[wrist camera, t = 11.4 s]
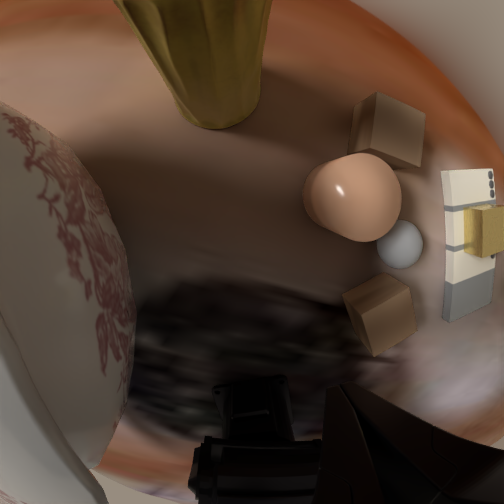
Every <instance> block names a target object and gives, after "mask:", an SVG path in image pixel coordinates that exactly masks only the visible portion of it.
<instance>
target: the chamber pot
mask: <svg viewBox="0 0 504 504" xmlns="http://www.w3.org/2000/svg"><path fill="white" fill-rule="evenodd" d="M136 320H137V310H136V305H135V301H134V296H133V291H132V285H131V280H130V274H129V268H128V262H127V256H126V250H125V248H124V245H123V243H122V241H121V239H120V236H119V234H118V231H117V229H116V227H115V224H114V222H113V219H112V217H111V214H110V212H109V209H108V206H107V204H106V201H105V199H104V196H103V193H102V190H101V189H100V187H99V186H98V185H97V183H96V182H95V181H94V179H93V178H92V177H91V175H90V174H89V173H88V171H87V170H86V168H85V167H84V166H83V164H82V163H81V161H80V160H79V159H78V157H77V156H76V154H75V153H74V152H73V150H72V149H71V147H70V146H69V145H68V144H66V143H65V142H63V141H62V140H61V139H59V138H58V137H56V136H55V135H54V134H52V133H51V132H49V131H48V130H46V129H45V128H44V127H42V126H41V125H39V124H38V123H36V122H35V121H33V120H31V119H30V118H28V117H27V116H25V115H23V114H22V113H20V112H18V111H17V110H15V109H13V108H12V107H10V106H9V105H7V104H5V103H4V102H0V504H109V503H108V501H107V498H106V495H105V493H104V490H103V488H102V487H101V485H100V484H99V483H98V481H97V480H96V478H95V477H94V476H93V474H92V473H91V472H90V471H89V469H91V468H93V467H95V466H97V465H98V464H99V462H100V460H101V459H102V457H103V455H104V453H105V451H106V449H107V447H108V445H109V443H110V441H111V439H112V437H113V435H114V432H115V430H116V428H117V425H118V423H119V421H120V419H121V416H122V414H123V412H124V410H125V407H126V405H127V399H128V392H129V386H130V380H131V374H132V368H133V363H134V346H135V332H136Z"/></svg>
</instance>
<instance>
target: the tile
mask: <svg viewBox="0 0 504 504" xmlns="http://www.w3.org/2000/svg"><path fill="white" fill-rule="evenodd" d="M463 214H464V252H466V253H469V254H472V255H474V256H477V257H480V258H484V257H487V256H490V255H492V254H495V253H498V252H501V251H503V250H504V206H503V205H496V204H488V203H487V204H481V205H474V206H468V207H463Z"/></svg>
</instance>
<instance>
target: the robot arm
mask: <svg viewBox="0 0 504 504" xmlns="http://www.w3.org/2000/svg"><path fill="white" fill-rule="evenodd" d="M280 380H283V381H282V382H279V381H280ZM216 390H219V392H217V391H216ZM212 394H213V397H214V400H215V403H216V405H217V408H218V411H219V413H220V416H221V418H222V421H223V425H222V439H220V438H212V436H205V439H204V443H201V446H200V447H198V448H195V449H194V457H193V464H192V468H191V472H190V476H189V480H188V488H189V489H190V490H191V491H192V492H193V493H194V494H195V495H196V497H195V499H196V500H199V501H198V504H504V450H501V449H497V448H493V447H490V446H486V445H483V444H479V443H476V442H473V441H470V440H467V439H464V438H461V437H458V436H456V435H453V434H451V433H449V432H447V431H444V430H442V429H440V428H438V427H436V426H433V425H432V424H430V423H428V422H426V421H424V420H422V419H420V418H418V417H416V416H414V415H413V414H411V413H409V412H407V411H405V410H403V409H401V408H399V407H398V406H396V405H394V404H392V403H390V402H388V401H387V400H385V399H383V398H381V397H379V396H378V395H376V394H374V393H372V392H371V391H369V390H367V389H365V388H364V387H362V386H360V385H358V384H357V383H355V382H353V381H349V382H345V383H342V384H340V385H335V386H331V387H327V388H326V398H325V412H324V424H323V434H322V440H321V439H313V440H312V441H295V439H294V435H293V430H292V426H291V425H292V424H293V422H294V421H293V414H292V407H291V401H290V395H289V388H288V382H287V378H286V376H284V375H279V376H273V377H268V378H263V379H257V380H251V381H245V382H238V383H231V384H224V385H216V386H214V387H213V388H212Z"/></svg>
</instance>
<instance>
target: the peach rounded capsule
mask: <svg viewBox="0 0 504 504" xmlns="http://www.w3.org/2000/svg"><path fill="white" fill-rule="evenodd" d="M401 201H402V196H401V188H400V184H399V181H398V179H397V177H396V175H395V173H394V171H393V170H392V169H391V167H390V166H389V165H388V164H387V163H386V162H384V161H383V160H382V159H380V158H379V157H376V156H374V155H371V154H367V153H356V154H351V155H348V156H345V157H342V158H338V159H335V160H332V161H329V162H326V163H323V164H321V165H319V166H317V167H316V168H314V169H313V170H312V171H311V172H310V174H309V175H308V177H307V178H306V181H305V183H304V187H303V202H304V206H305V209H306V211H307V213H308V215H309V216H310V218H311V219H312V220H313V221H314V222H315V223H317V224H318V225H320V226H321V227H324V228H326V229H328V230H330V231H333V232H335V233H337V234H340V235H342V236H344V237H346V238H349V239H351V240H354V241H359V242H368V241H373V240H376V239H378V238H380V237H382V236H384V235H385V234H386V233H387V232H388V231H389V230H390V229H391V228H392V227H393V225H394V224H395V222H396V220H397V218H398V216H399V213H400V209H401Z"/></svg>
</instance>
